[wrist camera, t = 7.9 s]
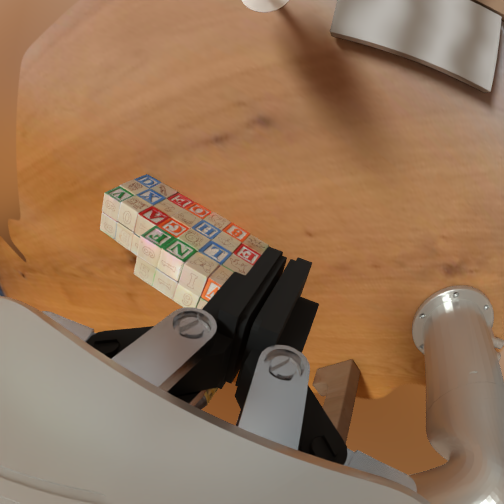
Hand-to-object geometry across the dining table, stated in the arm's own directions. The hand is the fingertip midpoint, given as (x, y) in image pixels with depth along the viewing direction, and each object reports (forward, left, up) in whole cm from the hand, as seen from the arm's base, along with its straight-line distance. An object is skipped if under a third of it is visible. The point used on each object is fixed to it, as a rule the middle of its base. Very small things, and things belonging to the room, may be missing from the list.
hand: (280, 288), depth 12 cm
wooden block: (-10, +31, -27) cm, 43 cm away
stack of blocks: (+17, +15, -28) cm, 36 cm away
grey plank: (-4, -19, -27) cm, 33 cm away
